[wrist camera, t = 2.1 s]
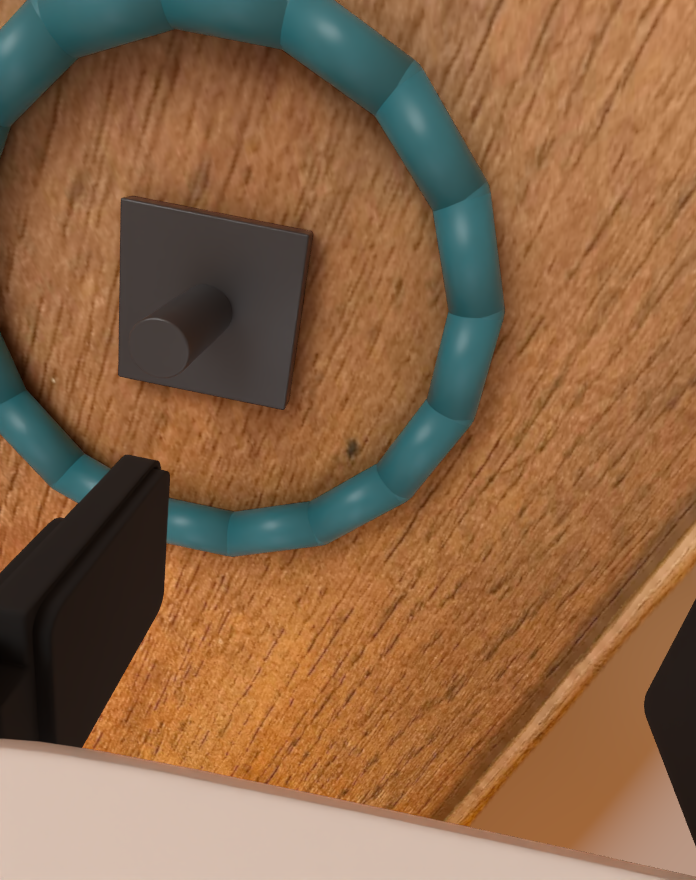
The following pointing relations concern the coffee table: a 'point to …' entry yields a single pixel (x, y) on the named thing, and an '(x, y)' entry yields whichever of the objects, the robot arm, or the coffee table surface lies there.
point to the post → (210, 301)
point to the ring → (428, 161)
